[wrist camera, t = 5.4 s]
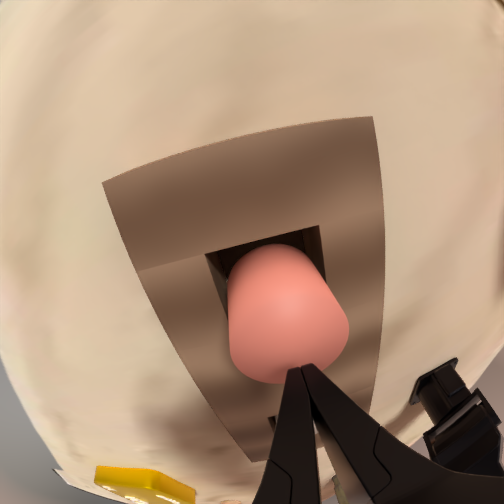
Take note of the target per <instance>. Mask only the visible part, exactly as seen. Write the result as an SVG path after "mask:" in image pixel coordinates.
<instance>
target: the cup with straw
mask: <svg viewBox="0 0 504 504" xmlns="http://www.w3.org/2000/svg"><path fill="white" fill-rule="evenodd" d="M221 503H222V504H240V503H241V501H237V500H227V501H222V502H221Z"/></svg>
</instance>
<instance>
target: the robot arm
mask: <svg viewBox="0 0 504 504" xmlns="http://www.w3.org/2000/svg"><path fill="white" fill-rule="evenodd" d="M457 362H458V359H457V357H456V358H454V359H452V360H451V361H449V362H447V363H445V364H444V365H442V366H440V367H438V368H436V369H435V370H433V371H431V372H429V373H427V374H425V375H423V376H422V377H420V378H419V380H418V382H417V385H416V388H415V391H414V393H413V396H412V398H411V401H410V404H411V405H414V404H416V403H418V402H421V403H422V405H423V407H424V408H425V410H426V412H427V414H428V415H429V417H430V419H431V420H432V422H433V424H434V427H432V428H431V429H430V430H428V431H426V432H425V433H423V435H424V437H423V439H424V441H425V443H426V446H427V449H428V451H429V456H430V460H429V459H428V458H426V457H424V456H422V455H421V454H419V453H417V452H416V451H414V450H413V449H411V448H410V447H408V446H407V445H405V444H404V443H402V442H401V441H399V440H398V439H397V438H395V437H394V436H393V435H392V434H390V433H389V432H388V431H387V430H386V429H385V428H384V427H382V426H380V424H379V423H378V422H377V421H375V420H374V419H373V418H372V417H371V416H370V415H369V414H368V413H366V412H365V411H364V410H363V409H362V408H361V407H360V406H359V405H358V404H356V403H355V402H354V401H353V400H352V399H351V398H350V397H349V396H348V395H347V394H345V393H344V392H343V391H342V390H341V389H340V388H339V387H338V386H337V385H336V384H335V383H334V382H332V381H331V380H330V379H329V378H328V377H327V376H326V375H325V374H324V373H323V372H322V371H321V370H320V369H319V368H318V367H317V366H316V365H314V364H313V363H308V364H305V365H302V366H301V367H294V368H290V369H288V370H287V374H286V379H285V384H284V389H283V394H282V399H281V404H280V408H279V413H278V417H277V422H276V426H275V431H274V435H273V439H272V444H271V448H270V452H269V456H268V458H269V459H268V460H267V463H266V467H265V471H264V474H263V477H262V481H261V484H260V486H259V489H258V491H257V494H256V496H255V498H254V500H253V503H252V504H322V501H321V489H320V478H319V467H318V457H317V447H316V438H315V430H314V424H315V426H316V429H317V431H318V434H319V436H320V438H321V441H322V443H323V445H324V447H325V450H326V452H327V454H328V457H329V459H330V461H331V463H332V466H333V468H334V470H335V473H336V475H337V477H338V479H339V482H340V484H341V486H342V488H343V491H344V493H345V495H346V497H347V500H348V502H349V504H504V466H503V464H502V462H501V459H502V451H503V440H504V438H503V436H502V434H501V432H500V431H499V429H498V427H497V426H498V425H499V424H501V423H502V422H501V421H500V419H499V418H498V416H497V415H496V413H495V411H494V410H493V409H492V407H491V406H490V404H489V403H488V401H487V400H486V398H485V397H484V396H483V394H482V393H481V391H480V390H479V389H478V388H476V389H475V390H474V392H473V393H472V394H471V393H470V391H469V390H468V388H467V387H466V386H465V385H466V384H465V383H464V381H463V380H462V379H461V377H460V376H459V375H458V373H457V372H456V371H455V367H456V365H457ZM480 400H482V402H481V403H480V404H479V405H477V403H478V402H479V401H480ZM313 421H314V422H313Z"/></svg>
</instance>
